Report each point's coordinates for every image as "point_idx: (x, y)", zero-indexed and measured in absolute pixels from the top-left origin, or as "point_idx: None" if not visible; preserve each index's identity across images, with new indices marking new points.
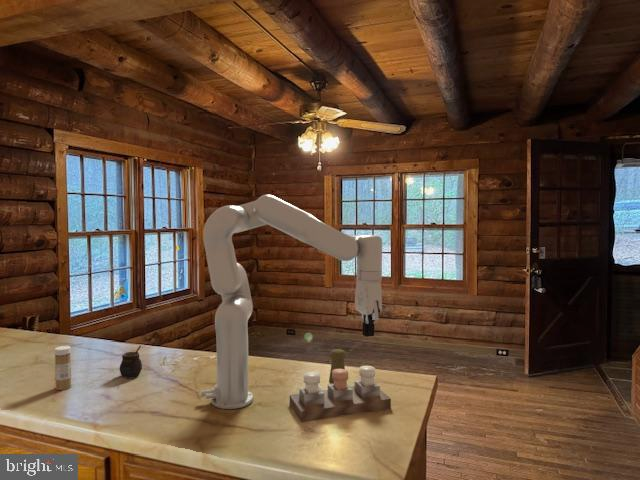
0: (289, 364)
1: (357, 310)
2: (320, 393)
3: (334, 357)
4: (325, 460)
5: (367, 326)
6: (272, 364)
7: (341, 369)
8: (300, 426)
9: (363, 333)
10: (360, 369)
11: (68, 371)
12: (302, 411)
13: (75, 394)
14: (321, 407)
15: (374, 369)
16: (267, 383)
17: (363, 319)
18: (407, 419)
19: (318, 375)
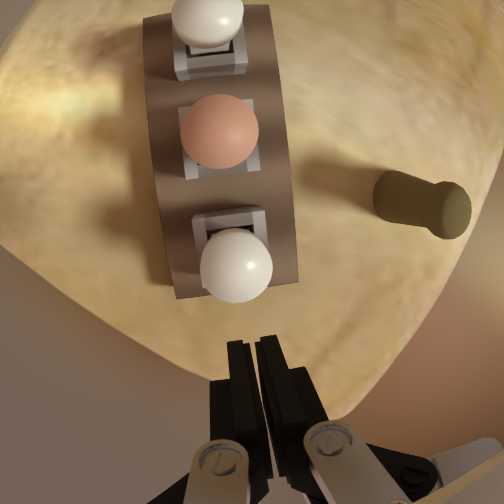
0: (493, 118)
1: (455, 496)
2: (176, 59)
3: (433, 188)
4: (4, 84)
5: (229, 425)
6: (493, 82)
7: (245, 143)
8: (130, 28)
9: (263, 346)
10: (230, 235)
11: None
12: (144, 21)
13: None
14: (152, 69)
15: (217, 295)
16: (402, 17)
17: (317, 455)
18: (117, 303)
19: (192, 31)
